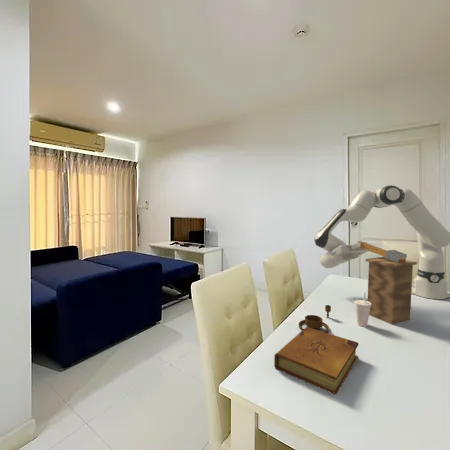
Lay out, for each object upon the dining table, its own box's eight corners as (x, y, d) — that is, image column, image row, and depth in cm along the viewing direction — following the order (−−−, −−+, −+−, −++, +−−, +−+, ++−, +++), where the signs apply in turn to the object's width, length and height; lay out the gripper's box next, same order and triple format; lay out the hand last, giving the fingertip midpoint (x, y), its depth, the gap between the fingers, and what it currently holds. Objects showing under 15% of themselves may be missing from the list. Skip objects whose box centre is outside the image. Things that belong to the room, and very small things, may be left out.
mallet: (354, 246, 132) (356, 239, 131) (361, 245, 134) (363, 238, 133) (397, 263, 113) (399, 255, 112) (405, 262, 115) (407, 254, 114)
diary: (304, 340, 101) (304, 326, 100) (357, 359, 89) (358, 342, 88) (274, 369, 83) (274, 351, 83) (335, 396, 71) (336, 376, 71)
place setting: (289, 322, 116) (289, 309, 116) (327, 316, 122) (327, 304, 122) (313, 342, 99) (314, 326, 99) (356, 334, 105) (357, 319, 105)
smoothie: (372, 328, 109) (374, 295, 108) (356, 327, 110) (357, 294, 109) (367, 322, 115) (369, 290, 114) (352, 320, 116) (353, 289, 115)
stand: (363, 313, 124) (365, 258, 122) (383, 308, 129) (385, 256, 127) (393, 326, 111) (395, 265, 109) (413, 320, 117) (416, 262, 115)
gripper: (326, 249, 139) (345, 239, 127) (354, 246, 147) (374, 237, 136) (331, 260, 136) (351, 251, 125) (359, 257, 145) (380, 248, 133)
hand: (363, 243), depth 130 cm, fingers closed on mallet, 2 cm apart
